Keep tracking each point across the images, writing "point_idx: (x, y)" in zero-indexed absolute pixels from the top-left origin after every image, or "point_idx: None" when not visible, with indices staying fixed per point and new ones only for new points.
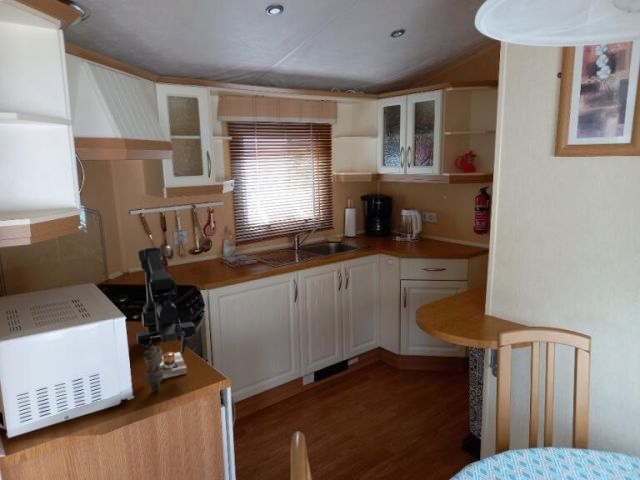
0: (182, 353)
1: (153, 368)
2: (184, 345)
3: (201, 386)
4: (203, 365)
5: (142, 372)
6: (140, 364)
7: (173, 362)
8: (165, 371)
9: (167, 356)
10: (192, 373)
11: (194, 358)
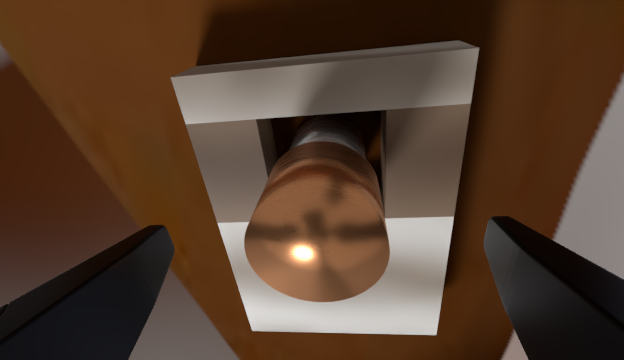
0: (157, 226)
1: None
2: (26, 300)
3: None
4: (90, 142)
5: (517, 220)
6: (491, 313)
7: (281, 158)
8: (373, 81)
9: (333, 201)
10: (149, 39)
11: (173, 255)
